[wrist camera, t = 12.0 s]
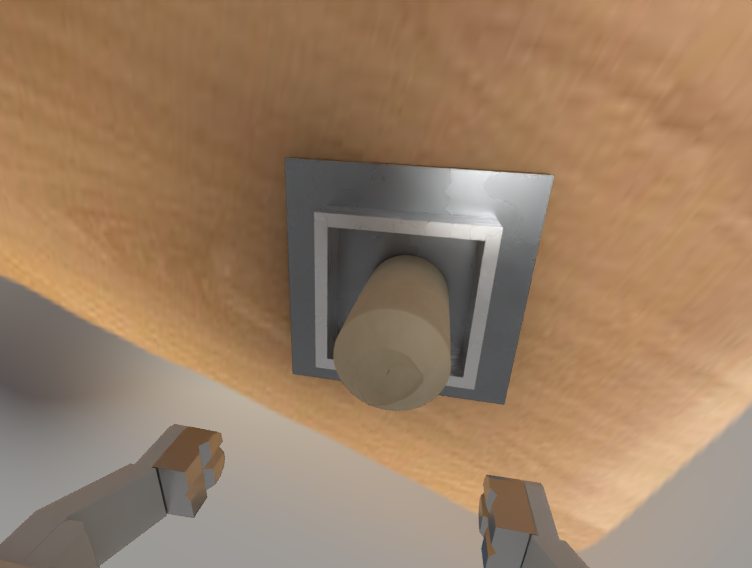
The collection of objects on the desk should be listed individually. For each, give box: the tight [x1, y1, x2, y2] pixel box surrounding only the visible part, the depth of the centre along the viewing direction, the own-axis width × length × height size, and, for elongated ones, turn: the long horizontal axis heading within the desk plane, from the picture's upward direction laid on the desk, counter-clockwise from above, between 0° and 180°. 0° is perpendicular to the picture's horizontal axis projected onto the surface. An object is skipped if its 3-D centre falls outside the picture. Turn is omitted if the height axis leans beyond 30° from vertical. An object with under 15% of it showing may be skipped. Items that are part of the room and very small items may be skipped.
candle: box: [333, 255, 451, 411], centre depth 21 cm, size 6×6×10 cm
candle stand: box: [285, 157, 554, 405], centre depth 25 cm, size 16×16×4 cm
